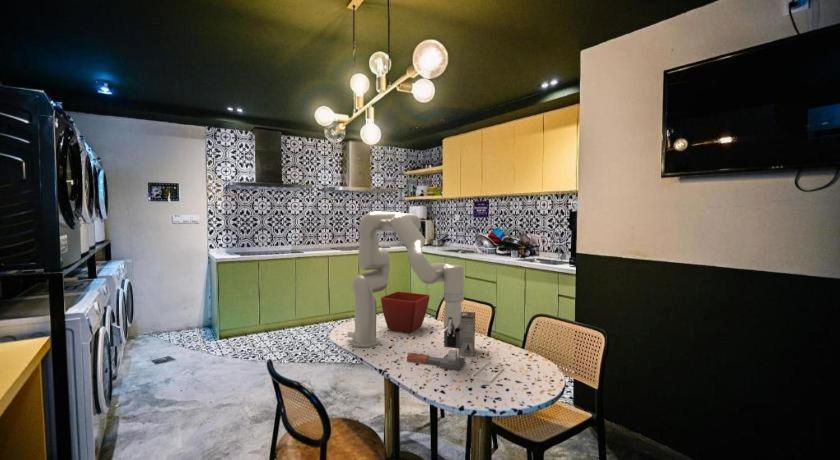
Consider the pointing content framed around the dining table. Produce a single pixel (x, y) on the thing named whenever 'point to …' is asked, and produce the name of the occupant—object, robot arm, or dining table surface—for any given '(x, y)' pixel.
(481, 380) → the phone case
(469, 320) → the coffee box
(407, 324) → the plant pot
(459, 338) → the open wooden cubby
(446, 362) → the ratchet
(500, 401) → the dining table surface
